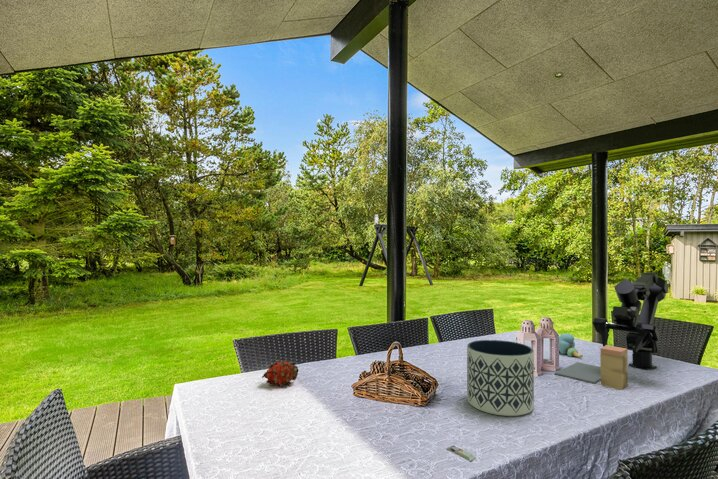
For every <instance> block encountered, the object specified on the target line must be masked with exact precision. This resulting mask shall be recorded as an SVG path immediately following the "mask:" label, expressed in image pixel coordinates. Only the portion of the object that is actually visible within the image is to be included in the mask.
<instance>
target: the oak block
mask: <svg viewBox="0 0 718 479" xmlns="http://www.w3.org/2000/svg"><path fill="white" fill-rule="evenodd" d="M599 350H600V352H599V353H600V355H599V356H600V367H601V381H600V385H601V386H604V387H609V388H613V389H617V390H621V391H622V390H624V389H625V388H626V387H628V386H629V374H628V373H629V372H628V370H629V368H628V366H629V362H628V358H629V357H628V348H624V347H620V346H619V347H618V346H612V345H607V344H606V346H604V347H603V346H602V347H600V349H599Z"/></svg>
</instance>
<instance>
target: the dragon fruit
mask: <svg viewBox="0 0 718 479" xmlns="http://www.w3.org/2000/svg"><path fill="white" fill-rule="evenodd" d="M283 361H284V362H283ZM283 361H279V360H278V361H275V362H274V363H273V364H270V365H269V368H268V369H266V372H264V374H263V375H262V377H261V378H262V379H264V378H265V379H267V380H265V382H266V384H268V385H271V386H272V385H273V386H279V385H280V388H282V387H283V386H285V385H286V386H288V385H290V384H291V381H295V380H297V377H298V374H299V371H300V370H299V369H298V368H299V367H298V366H297V365H295V363H294V362H290V361H288V360H286V359H283Z"/></svg>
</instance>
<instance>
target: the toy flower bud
mask: <svg viewBox="0 0 718 479" xmlns="http://www.w3.org/2000/svg"><path fill="white" fill-rule="evenodd" d="M558 337H559V349H560V352H559V353H560V354H561V355H567V356H568V357H577V358H580V359H581V358H583V357H584V354H579V351H578V349H577V348H576V347H575V346H576V343H575V337H574V335H573V334H570V333H562V334H560V335H559V336H558Z"/></svg>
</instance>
